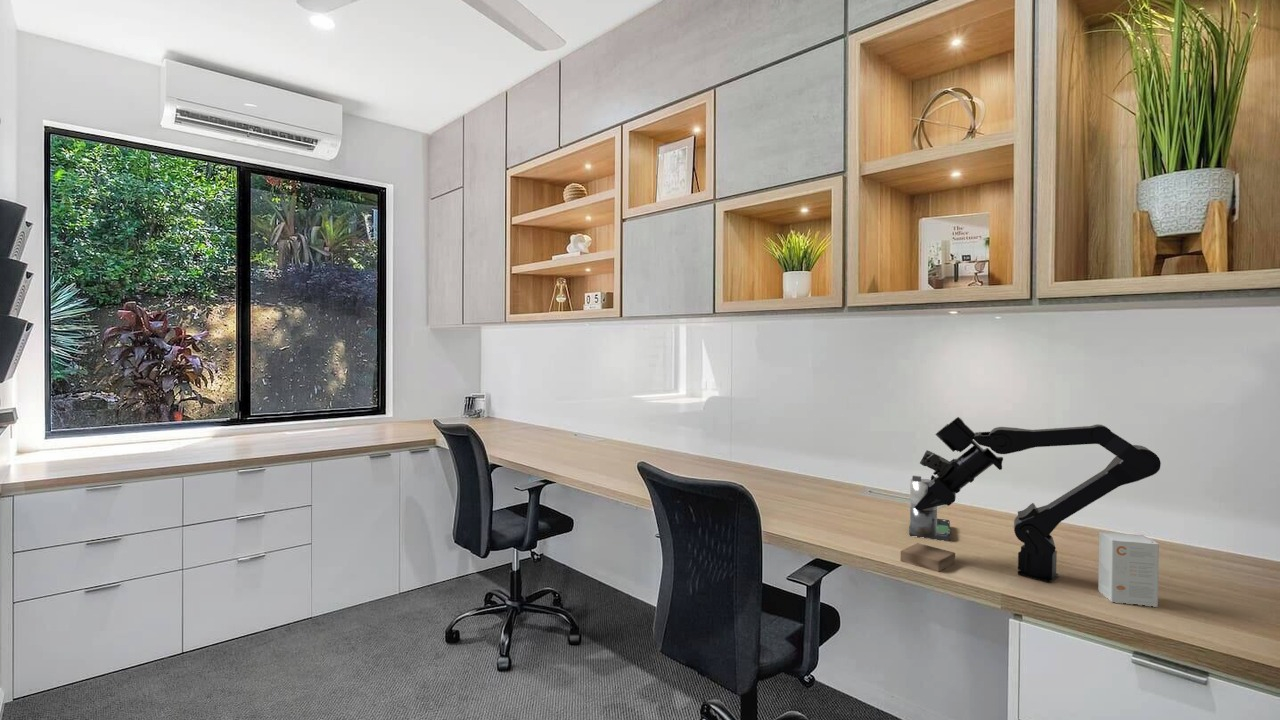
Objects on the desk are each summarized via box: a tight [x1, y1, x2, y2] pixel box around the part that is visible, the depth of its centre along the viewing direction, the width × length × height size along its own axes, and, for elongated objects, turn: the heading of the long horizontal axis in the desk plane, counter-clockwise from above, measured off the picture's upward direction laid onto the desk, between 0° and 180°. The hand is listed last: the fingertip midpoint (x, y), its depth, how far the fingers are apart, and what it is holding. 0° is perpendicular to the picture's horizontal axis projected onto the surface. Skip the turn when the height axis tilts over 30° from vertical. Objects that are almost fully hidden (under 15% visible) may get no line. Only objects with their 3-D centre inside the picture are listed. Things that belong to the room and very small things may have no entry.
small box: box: [1097, 531, 1160, 608], centre depth 124 cm, size 8×6×13 cm
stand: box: [900, 542, 956, 573], centre depth 144 cm, size 9×9×2 cm
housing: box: [909, 475, 938, 537], centre depth 148 cm, size 6×6×14 cm
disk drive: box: [908, 518, 952, 542], centre depth 169 cm, size 10×3×15 cm
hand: (917, 506), depth 149 cm, fingers closed on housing, 6 cm apart
